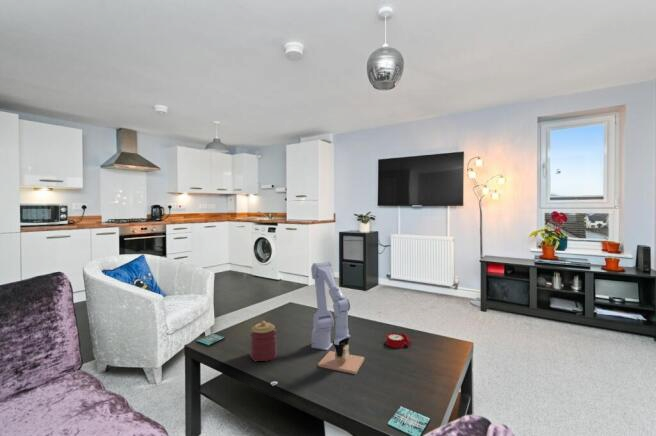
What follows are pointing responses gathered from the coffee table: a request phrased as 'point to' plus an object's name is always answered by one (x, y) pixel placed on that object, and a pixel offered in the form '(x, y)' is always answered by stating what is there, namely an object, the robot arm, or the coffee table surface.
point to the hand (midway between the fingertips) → (341, 353)
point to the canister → (263, 342)
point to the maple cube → (345, 353)
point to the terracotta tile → (341, 363)
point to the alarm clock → (397, 340)
